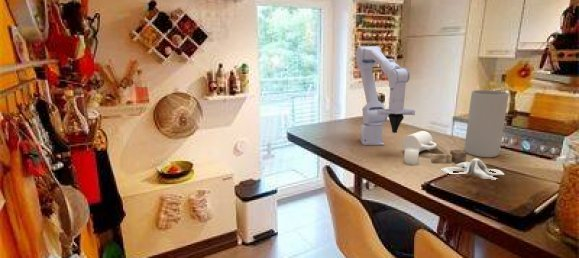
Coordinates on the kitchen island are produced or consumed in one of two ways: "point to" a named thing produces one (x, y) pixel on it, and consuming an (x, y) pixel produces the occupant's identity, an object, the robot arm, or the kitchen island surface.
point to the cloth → (474, 169)
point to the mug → (419, 141)
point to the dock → (440, 155)
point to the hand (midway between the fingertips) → (394, 132)
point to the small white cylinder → (411, 156)
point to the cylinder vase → (486, 122)
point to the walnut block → (458, 156)
